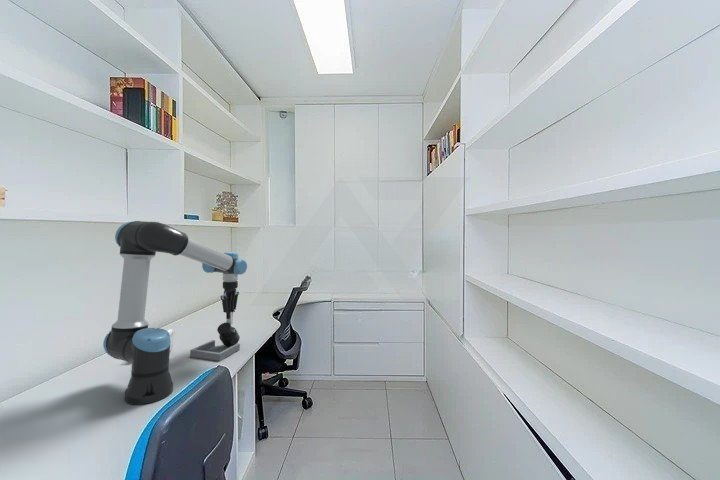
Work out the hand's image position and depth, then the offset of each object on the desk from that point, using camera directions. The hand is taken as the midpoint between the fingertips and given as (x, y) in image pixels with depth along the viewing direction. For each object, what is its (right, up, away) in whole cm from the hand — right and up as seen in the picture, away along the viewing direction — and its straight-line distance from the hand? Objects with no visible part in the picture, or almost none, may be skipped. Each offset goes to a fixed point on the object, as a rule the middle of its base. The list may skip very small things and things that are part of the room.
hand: (229, 324), depth 167 cm
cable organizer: (-29, -12, -16) cm, 35 cm away
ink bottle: (0, -10, +3) cm, 10 cm away
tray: (-3, -12, -10) cm, 16 cm away
